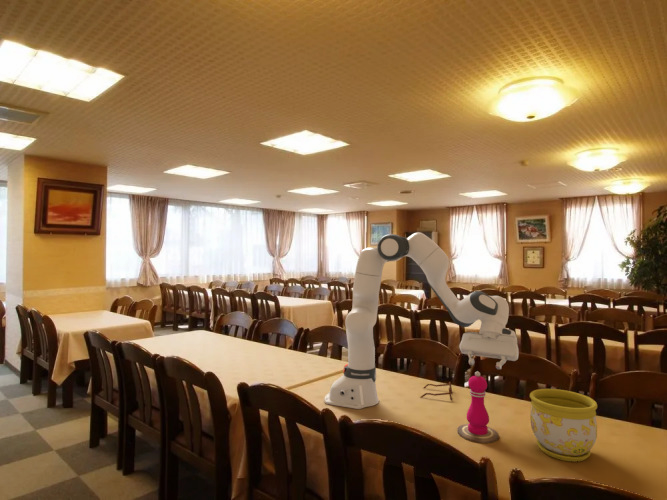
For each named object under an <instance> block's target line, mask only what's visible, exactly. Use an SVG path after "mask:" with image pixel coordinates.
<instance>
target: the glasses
mask: <svg viewBox="0 0 667 500" xmlns="http://www.w3.org/2000/svg"><path fill="white" fill-rule="evenodd" d="M428 386H431V387H432V386H433V387H437V388H438V387H444V386H445V387H446V386H449V387H448V392H443V393H433V392H425V393H423V394H422V395H421V396H419V398H424V397H425V396H427V395H428V396H429V395H430V396H445V395H449V398H450V400H451V401H452V400H453V398H452V397H453V396H452V394H453V389H452V382H451V381H449V382H448V383H443V384H441V383H440V384H432V383H428V384H426V385H425V386H424V387H423V388H425V389H426V388H427V387H428Z"/></svg>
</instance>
